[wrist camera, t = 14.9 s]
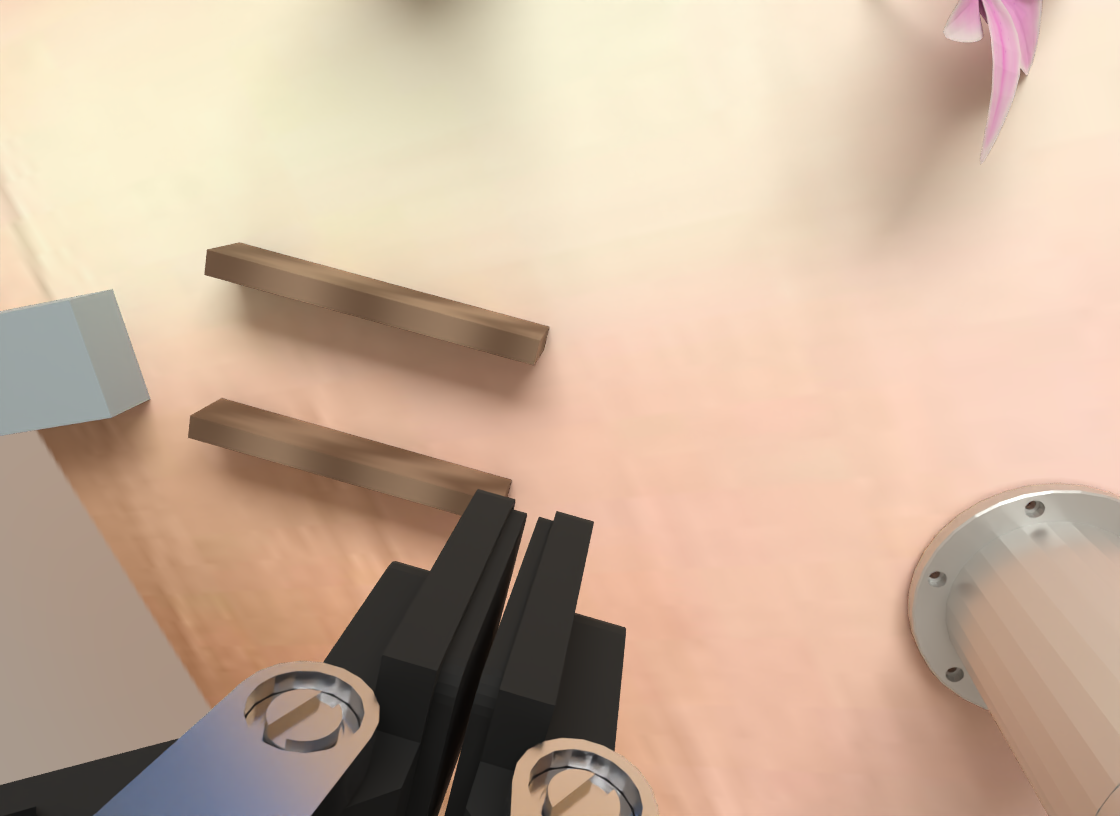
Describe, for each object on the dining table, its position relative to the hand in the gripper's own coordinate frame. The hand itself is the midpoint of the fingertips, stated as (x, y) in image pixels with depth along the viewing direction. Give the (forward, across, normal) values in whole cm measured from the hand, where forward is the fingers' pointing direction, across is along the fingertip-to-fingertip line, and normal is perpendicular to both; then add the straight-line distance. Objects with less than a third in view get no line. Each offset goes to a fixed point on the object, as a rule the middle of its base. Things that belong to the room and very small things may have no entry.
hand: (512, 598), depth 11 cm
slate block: (+29, +28, +12) cm, 42 cm away
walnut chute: (+29, +11, +8) cm, 32 cm away
